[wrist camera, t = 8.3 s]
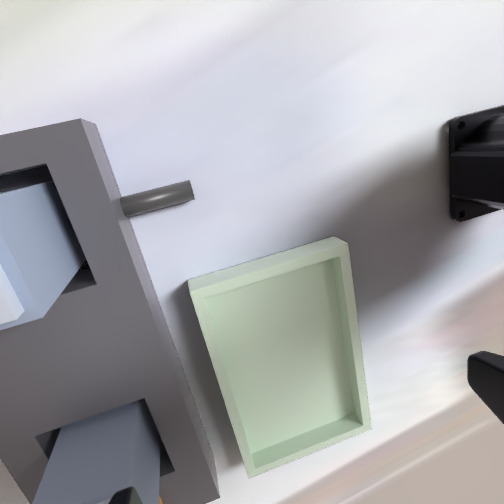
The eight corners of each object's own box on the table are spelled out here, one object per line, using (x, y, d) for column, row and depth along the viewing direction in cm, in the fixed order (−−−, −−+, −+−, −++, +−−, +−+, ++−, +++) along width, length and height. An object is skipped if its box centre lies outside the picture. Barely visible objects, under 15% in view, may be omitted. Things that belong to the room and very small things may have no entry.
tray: (334, 236, 20) (348, 243, 19) (359, 411, 25) (371, 428, 24) (187, 279, 19) (189, 291, 17) (243, 456, 24) (248, 478, 22)
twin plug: (180, 150, 17) (189, 150, 10) (201, 224, 18) (222, 270, 11) (-32, 200, 15) (-200, 242, 8) (8, 277, 17) (-108, 369, 10)
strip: (95, 124, 16) (75, 116, 12) (213, 455, 23) (221, 509, 20) (-118, 169, 14) (-208, 176, 11) (80, 507, 22) (63, 574, 18)
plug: (160, 425, 21) (157, 560, 14) (97, 447, 21) (61, 600, 14) (141, 375, 20) (127, 497, 13) (72, 398, 20) (18, 539, 12)
